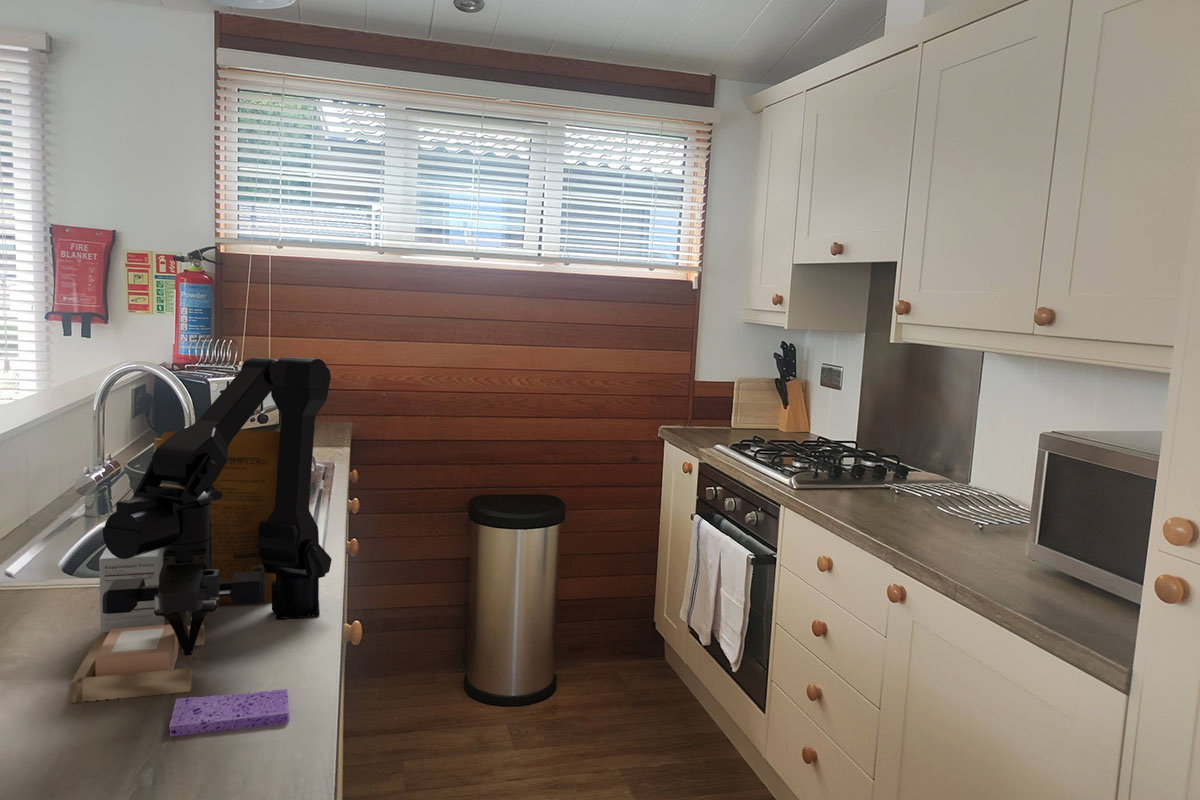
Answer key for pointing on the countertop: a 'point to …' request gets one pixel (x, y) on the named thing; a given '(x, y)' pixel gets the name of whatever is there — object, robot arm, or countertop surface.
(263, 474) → the pancake mix bag
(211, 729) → the sponges
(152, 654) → the carton
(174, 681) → the u-shaped wooden frame
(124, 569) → the supplement box
